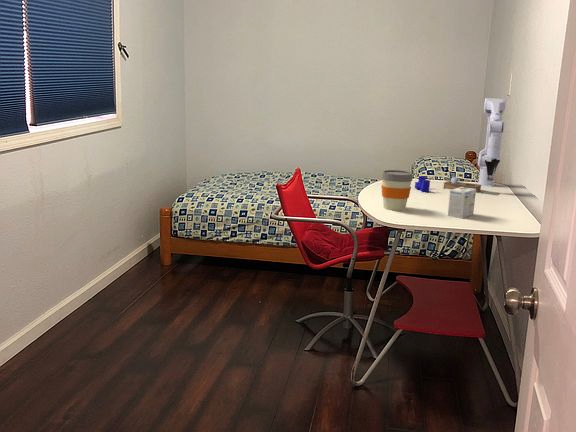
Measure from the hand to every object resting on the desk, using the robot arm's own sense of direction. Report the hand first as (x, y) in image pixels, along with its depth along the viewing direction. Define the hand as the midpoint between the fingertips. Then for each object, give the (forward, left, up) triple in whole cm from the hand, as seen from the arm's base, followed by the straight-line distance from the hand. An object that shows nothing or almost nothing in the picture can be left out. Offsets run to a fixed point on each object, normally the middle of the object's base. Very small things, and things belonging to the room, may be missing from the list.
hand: (490, 174), depth 311 cm
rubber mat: (0, +1, -9) cm, 9 cm away
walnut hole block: (0, -13, -9) cm, 16 cm away
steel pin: (0, 0, -3) cm, 3 cm away
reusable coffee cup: (+64, -23, -9) cm, 69 cm away
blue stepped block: (+15, -28, -9) cm, 33 cm away
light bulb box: (+58, +3, -9) cm, 59 cm away
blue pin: (0, -17, -9) cm, 19 cm away
